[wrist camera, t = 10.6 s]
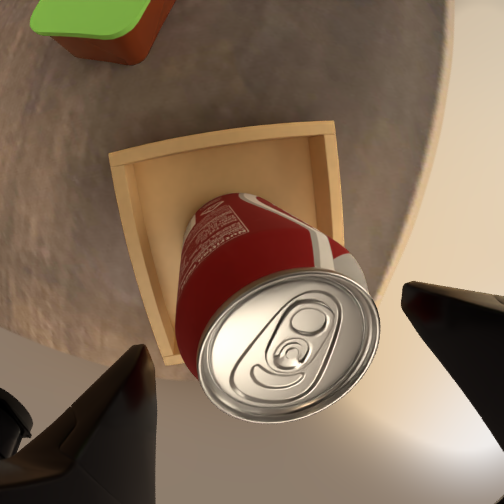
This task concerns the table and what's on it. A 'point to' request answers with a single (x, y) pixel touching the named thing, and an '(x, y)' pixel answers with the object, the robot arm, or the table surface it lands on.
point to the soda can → (270, 312)
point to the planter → (102, 27)
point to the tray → (211, 186)
